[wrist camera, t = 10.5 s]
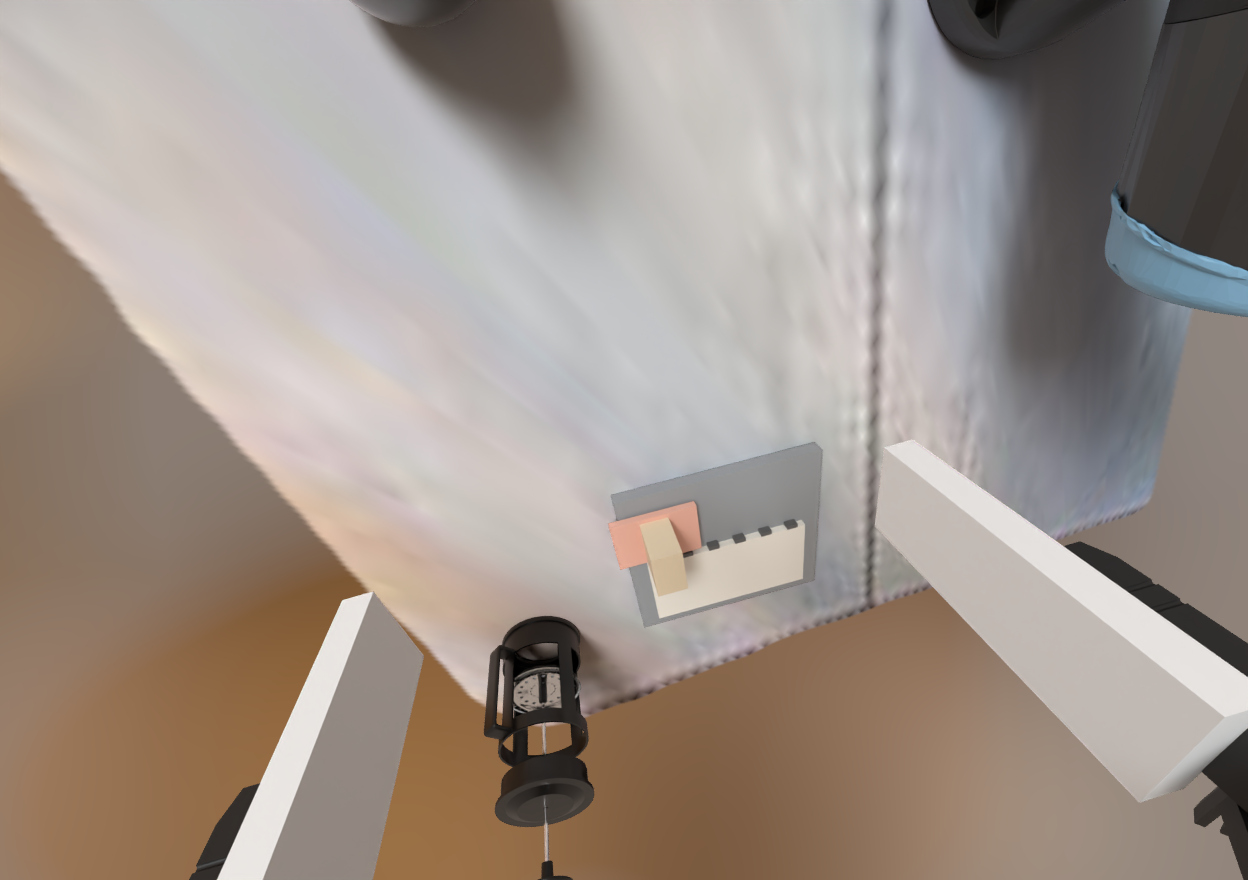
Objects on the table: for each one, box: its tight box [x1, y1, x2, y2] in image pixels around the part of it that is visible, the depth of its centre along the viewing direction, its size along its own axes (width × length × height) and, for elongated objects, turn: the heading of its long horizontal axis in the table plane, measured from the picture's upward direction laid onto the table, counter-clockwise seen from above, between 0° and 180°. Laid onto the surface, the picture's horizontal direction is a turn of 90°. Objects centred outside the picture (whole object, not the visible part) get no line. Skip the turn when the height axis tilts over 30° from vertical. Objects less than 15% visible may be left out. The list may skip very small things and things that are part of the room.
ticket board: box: [611, 442, 822, 628], centre depth 51 cm, size 22×20×2 cm
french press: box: [484, 616, 594, 880], centre depth 46 cm, size 12×9×23 cm
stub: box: [608, 501, 702, 597], centre depth 45 cm, size 9×6×6 cm, turn 101°
